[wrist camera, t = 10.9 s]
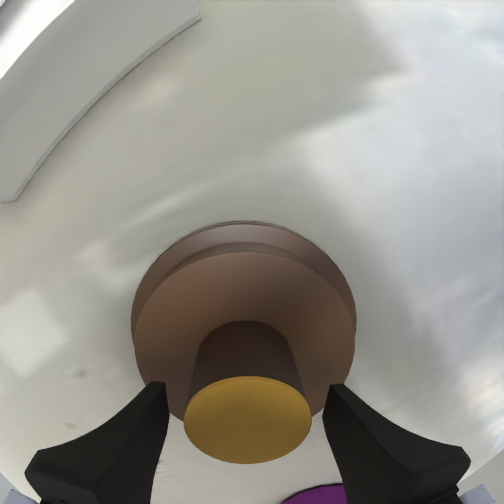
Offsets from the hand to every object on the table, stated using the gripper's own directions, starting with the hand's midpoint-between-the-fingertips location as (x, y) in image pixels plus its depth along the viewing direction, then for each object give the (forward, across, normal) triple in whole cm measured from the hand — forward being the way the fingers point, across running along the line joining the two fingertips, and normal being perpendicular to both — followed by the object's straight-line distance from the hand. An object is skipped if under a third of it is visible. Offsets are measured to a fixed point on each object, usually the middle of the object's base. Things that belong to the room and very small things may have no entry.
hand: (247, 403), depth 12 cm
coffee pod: (+3, 0, 0) cm, 3 cm away
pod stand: (+7, 0, 0) cm, 7 cm away
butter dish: (+7, +16, -20) cm, 27 cm away
